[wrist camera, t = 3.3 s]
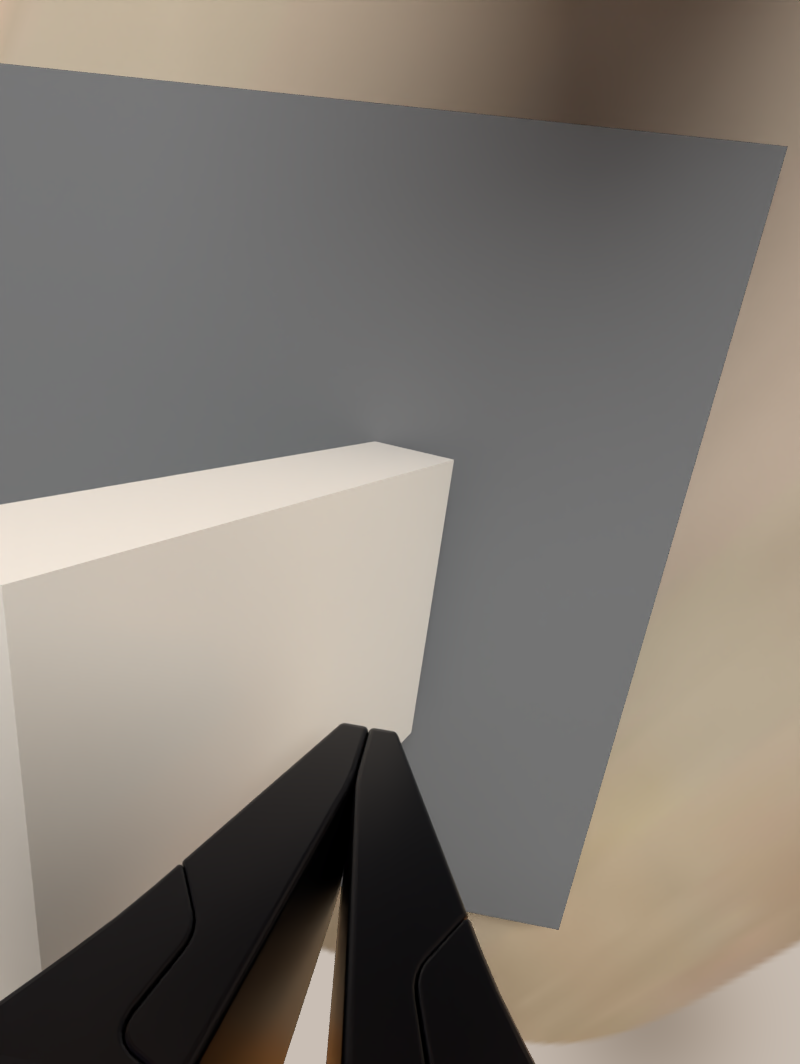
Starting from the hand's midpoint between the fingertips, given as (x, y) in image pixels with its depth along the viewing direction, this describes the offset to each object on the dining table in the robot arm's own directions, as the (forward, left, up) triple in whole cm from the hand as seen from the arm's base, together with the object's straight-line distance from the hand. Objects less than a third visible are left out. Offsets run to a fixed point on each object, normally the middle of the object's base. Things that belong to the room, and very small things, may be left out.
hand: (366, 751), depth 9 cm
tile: (0, 0, -6) cm, 6 cm away
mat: (+4, 0, -7) cm, 8 cm away
